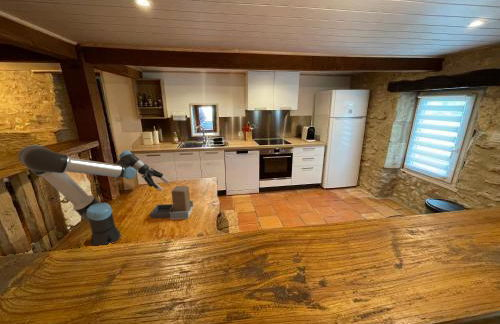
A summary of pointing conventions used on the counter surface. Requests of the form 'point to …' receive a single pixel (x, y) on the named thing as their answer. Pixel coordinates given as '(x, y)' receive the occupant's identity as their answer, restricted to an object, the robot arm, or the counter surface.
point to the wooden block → (181, 199)
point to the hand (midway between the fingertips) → (165, 186)
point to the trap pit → (162, 211)
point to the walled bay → (181, 213)
